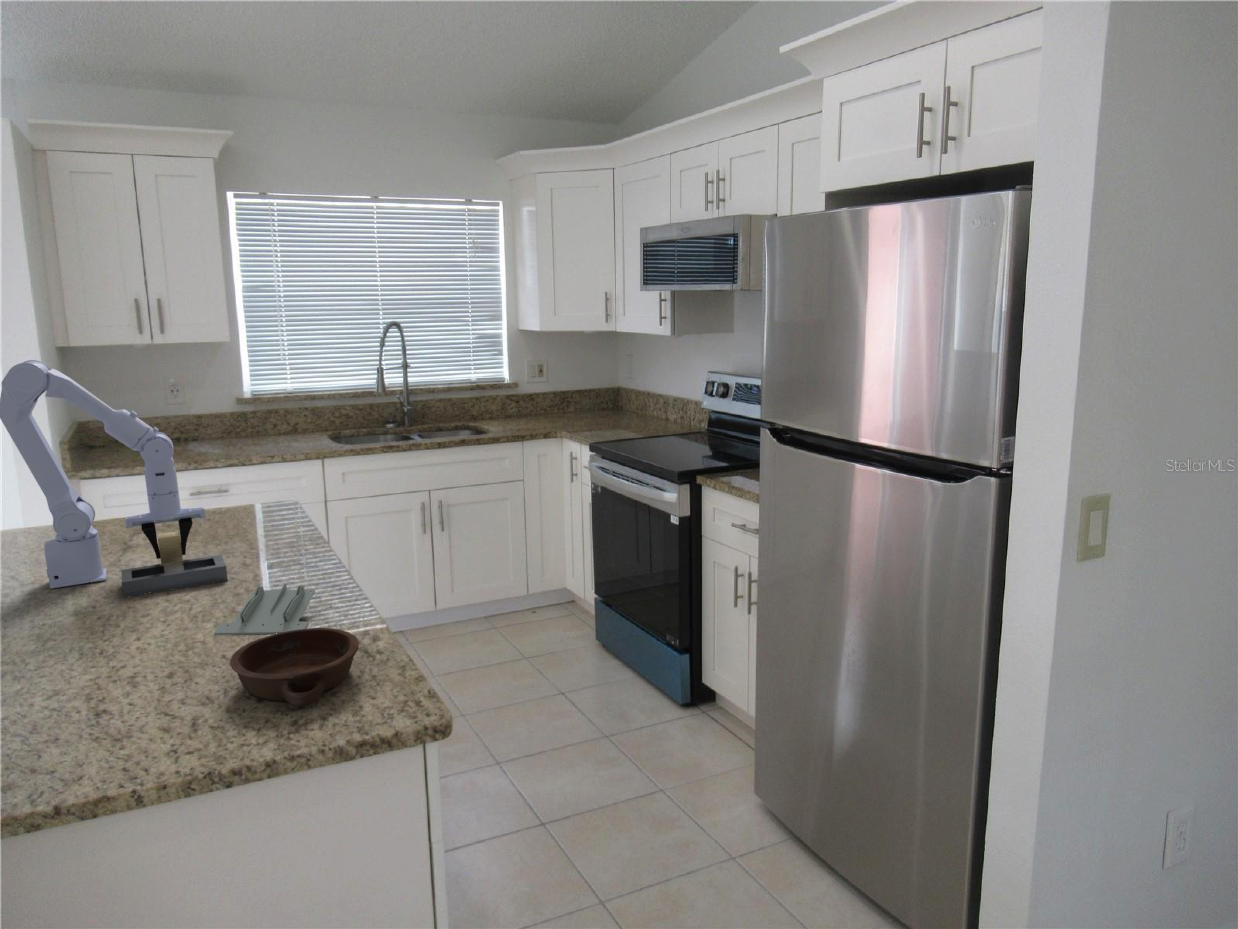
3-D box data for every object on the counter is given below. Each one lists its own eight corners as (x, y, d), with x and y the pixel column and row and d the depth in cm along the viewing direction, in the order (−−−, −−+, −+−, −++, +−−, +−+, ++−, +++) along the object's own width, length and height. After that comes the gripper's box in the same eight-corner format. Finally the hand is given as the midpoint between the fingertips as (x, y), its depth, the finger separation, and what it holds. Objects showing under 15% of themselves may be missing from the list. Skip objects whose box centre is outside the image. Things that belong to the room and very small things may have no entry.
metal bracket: (242, 579, 154) (326, 578, 154) (250, 606, 157) (332, 604, 157) (207, 630, 142) (298, 628, 141) (216, 658, 144) (305, 656, 144)
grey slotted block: (123, 597, 163) (121, 582, 162) (123, 584, 170) (121, 569, 170) (227, 580, 171) (226, 566, 171) (223, 568, 179) (221, 554, 178)
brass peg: (162, 571, 178) (157, 538, 177) (161, 566, 182) (157, 534, 180) (183, 567, 180) (179, 535, 179) (182, 562, 184) (178, 531, 182)
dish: (343, 643, 139) (341, 614, 138) (378, 696, 121) (375, 662, 120) (225, 667, 131) (222, 636, 130) (243, 729, 112) (239, 693, 111)
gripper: (122, 500, 171) (131, 566, 174) (203, 491, 178) (210, 554, 181) (122, 494, 177) (131, 557, 180) (200, 485, 184) (207, 546, 187)
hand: (171, 555), depth 181 cm, fingers open, 4 cm apart
